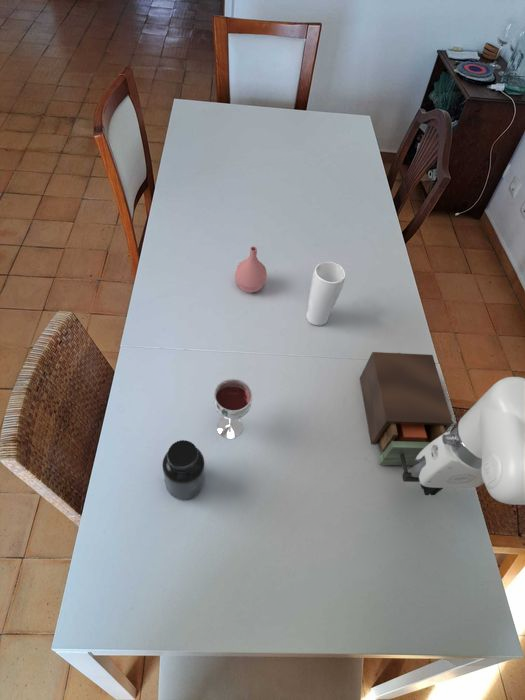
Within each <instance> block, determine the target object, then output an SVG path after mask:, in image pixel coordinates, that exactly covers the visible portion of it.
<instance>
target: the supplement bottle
mask: <svg viewBox="0 0 525 700" xmlns="http://www.w3.org/2000/svg"><path fill="white" fill-rule="evenodd" d="M205 470H206V469H205V457H204V454H203V453H202V451H201V450H200V449H199V448H197V446H196V445H195V444H194V443H193V442H192V441H190V440H185V439H181V440H177V441H175V442H174V443H172V444H171V445H170V446H169V448H168V451H167V452H166V453H165V455H164V457H163V460H162V473H163V479H164V483H165V488H166V491H168V493H169V494H170V495H171V497H173V498H175V499H177V500H182V501H186V500H191V499H193V498H195V497H196V496H198V495H199V494H200V493H201V491H202V490H203V488H204V485H205V477H206V476H205V475H206V474H205V473H206V472H205Z"/></svg>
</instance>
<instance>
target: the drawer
mask: <svg viewBox="0 0 525 700" xmlns="http://www.w3.org/2000/svg"><path fill="white" fill-rule="evenodd" d="M424 427H425V431H426V435H427V438H426V440H425V441H424V442H405V441H394V440H395V438H396V437H397V436H398V433H397V428H396V424H395V423H389V424H388V426H387V427H386V429H385V430H384V432H383V433H382V435H381V436H380V438H379V442H380V444H379V447H380V452H381V455H380V456H379V458H378V463H379V465H380V466H402V471H403V472H402V481H403V482H407V483H420V480H419V478H418V477H412V476H411V471H409V469H408V466H412V467H414V466H415V465H417V464H418V463H420V462H417V461H415V459H416V457H417V455H418V454H419V453H420V452H421V451H422V450H423V449H424V448H425V447H426V446H427V445H428V444H430V443H431V442H432V441H434V440H435V439H436V438H438V437H439V436H441V435H443V434H444V433H446V432H447V431H446V432H445V428H444V425H428V424H424Z"/></svg>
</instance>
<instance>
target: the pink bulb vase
mask: <svg viewBox="0 0 525 700" xmlns="http://www.w3.org/2000/svg"><path fill="white" fill-rule="evenodd" d="M257 254H258V248H257V247H256V246H251V247H250V250H249V255H248V257H247V258H246V259H244V260H242V261H241V262H239V263H238V264H237V266H236V268H235V269H236V270H235V271H234V279H235V282H236V284H237V287H238V288H239V289H240V290H241V291H243V292H246V293H256V292H259V291H261V290H262V288H263V287H264V285H265V283H266V282H267V279H268V274H267V268H266V266H265V265H264V264H263V262H261V261H260V260H259V258H258V256H257Z"/></svg>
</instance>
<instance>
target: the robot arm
mask: <svg viewBox="0 0 525 700" xmlns="http://www.w3.org/2000/svg"><path fill="white" fill-rule="evenodd" d="M415 461H417V462H420V463H418V464H417V465H415V466H412V467H410V468H409V472H411V476H412V477H418V478H419V480H420V482H419V484H420V488H421V489H423V494H424V496H429V495H430V496H436V495H437V494H438V493H439V492H441V491H442V490H443V489H475V488H479V487H480V486H482V485H483V484H484V486H485V488H486V490H487V492H488V494H489V495H490V496H491V498H493V499H494V500H496V501H497V502H499V503H501V504H505V505H512V506H513V505H514V506H515V505H516V506H525V377H521V376H507V377H504V378H501V379H499V380H498V381H496V382H495V383H494V384H492V386H491V387H489V389H488V390H487V391H486V392H485V393H484V394H483V395H482V396H481V397H480V398H479V399H478V400H477V401H476V402H475V403H474V404H473V405H472V406H471V407H470V408H469V409H468V410H467V411H466V412H465V413H464V414H463V415H462V417H460V418H459V419H458V420H457V422H455V423H454V425H452V427H450V428H449V431H446V433H444V434H443V435H441V436H439V437H438V438H436V439H435V440H434V441H432V442H431V443H430V444H428V445H427V446H426V447H425V448H424V449H423V450H422V451H421V452H420V453H419V454H418V455H417V457H416V459H415Z"/></svg>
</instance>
